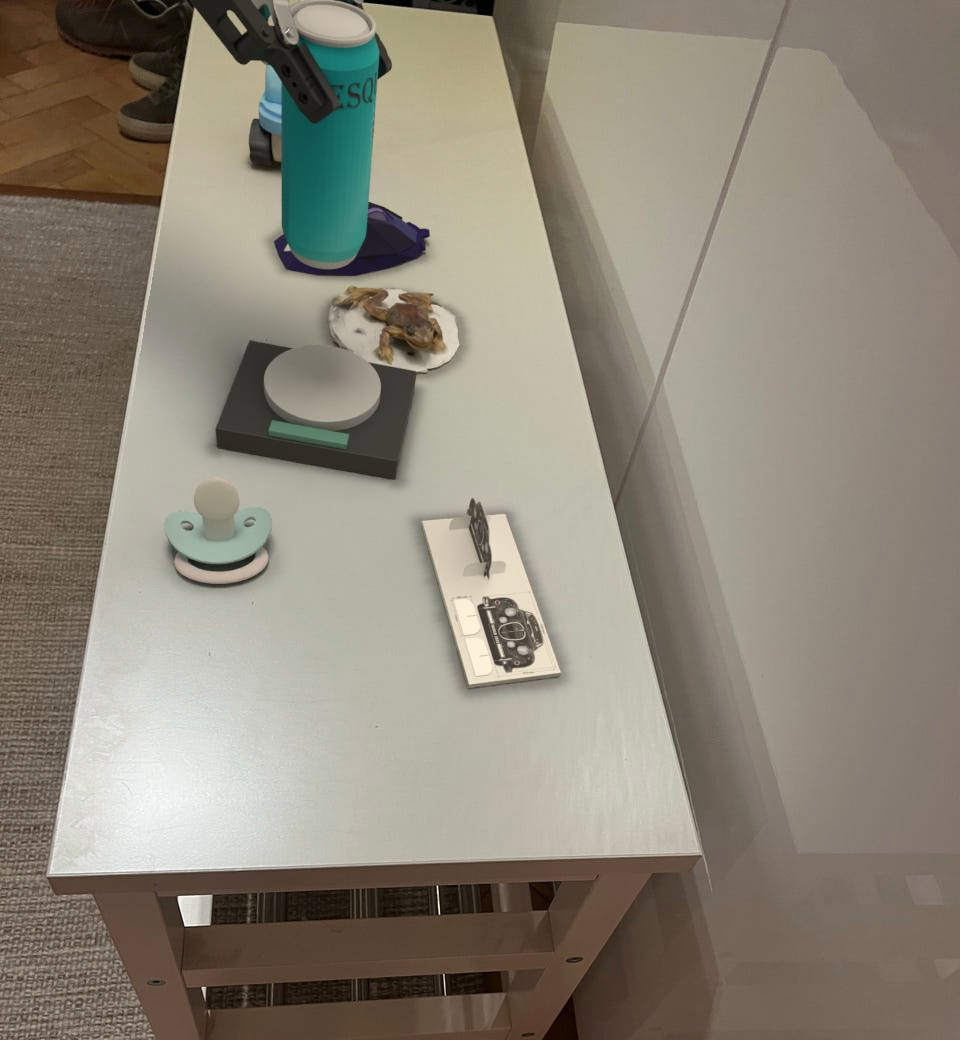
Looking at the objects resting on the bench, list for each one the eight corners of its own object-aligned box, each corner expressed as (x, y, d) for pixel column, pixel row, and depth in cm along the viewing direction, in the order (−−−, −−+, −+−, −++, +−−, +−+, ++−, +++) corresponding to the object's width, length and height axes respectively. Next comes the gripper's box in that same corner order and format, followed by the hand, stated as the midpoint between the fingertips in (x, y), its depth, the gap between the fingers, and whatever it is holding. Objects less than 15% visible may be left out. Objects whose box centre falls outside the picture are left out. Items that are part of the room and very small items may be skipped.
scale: (216, 447, 77) (214, 418, 74) (250, 359, 83) (248, 329, 81) (395, 479, 78) (398, 451, 75) (414, 389, 84) (417, 361, 82)
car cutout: (421, 524, 75) (427, 482, 72) (504, 517, 77) (514, 476, 73) (467, 688, 67) (477, 650, 64) (559, 676, 69) (574, 638, 65)
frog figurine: (486, 359, 88) (493, 323, 85) (363, 387, 83) (366, 350, 80) (429, 284, 93) (434, 247, 90) (310, 306, 89) (311, 268, 86)
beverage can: (380, 261, 70) (401, 33, 58) (311, 284, 67) (318, 49, 55) (334, 219, 72) (344, -10, 60) (265, 238, 69) (261, 3, 57)
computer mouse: (264, 223, 95) (263, 183, 92) (410, 212, 100) (414, 174, 97) (290, 281, 90) (290, 242, 87) (442, 267, 95) (447, 229, 92)
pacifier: (277, 585, 70) (269, 520, 73) (276, 527, 65) (268, 460, 68) (169, 592, 68) (166, 525, 71) (159, 534, 63) (156, 465, 66)
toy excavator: (360, 112, 110) (369, -66, 96) (331, 190, 100) (337, 3, 86) (283, 96, 110) (282, -85, 96) (246, 173, 100) (239, -17, 86)
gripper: (119, -241, 46) (333, 112, 53) (288, -285, 54) (452, 26, 62) (45, -139, 51) (251, 170, 58) (211, -194, 59) (371, 83, 67)
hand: (354, 94), depth 60 cm, fingers closed on beverage can, 5 cm apart
